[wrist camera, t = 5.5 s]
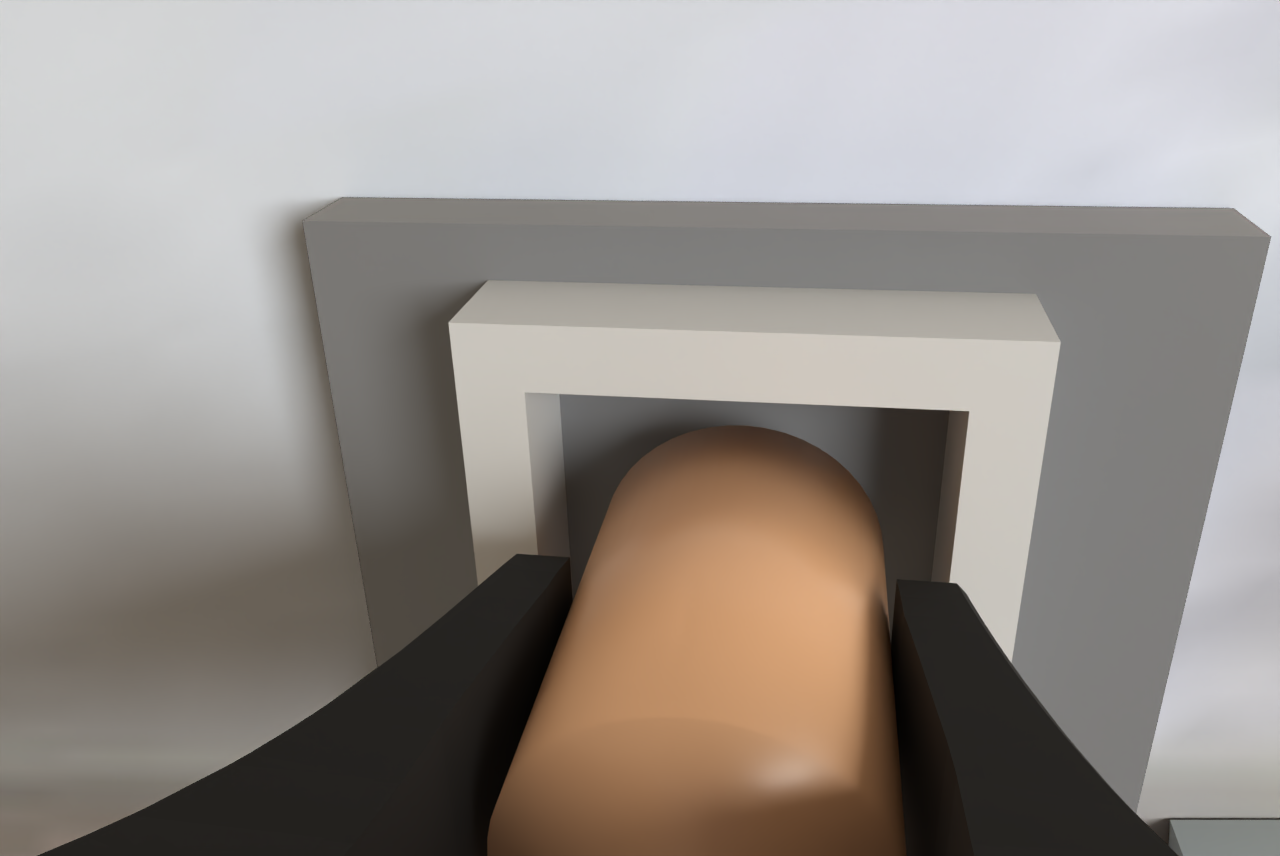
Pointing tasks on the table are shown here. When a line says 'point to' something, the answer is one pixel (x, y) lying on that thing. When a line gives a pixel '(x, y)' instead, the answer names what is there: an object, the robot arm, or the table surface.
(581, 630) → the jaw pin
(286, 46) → the table surface
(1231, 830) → the lid
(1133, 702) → the housing
